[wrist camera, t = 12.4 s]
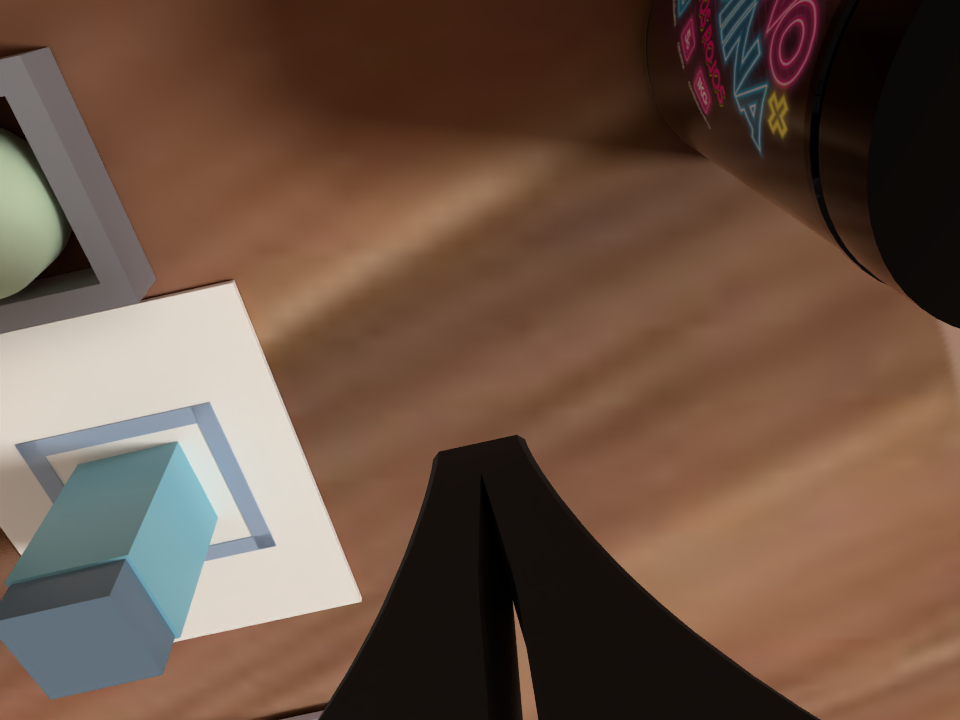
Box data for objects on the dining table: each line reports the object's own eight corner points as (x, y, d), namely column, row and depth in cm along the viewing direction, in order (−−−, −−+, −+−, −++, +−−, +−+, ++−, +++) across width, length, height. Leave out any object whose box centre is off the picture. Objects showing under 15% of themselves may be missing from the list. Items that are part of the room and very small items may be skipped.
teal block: (218, 517, 24) (168, 676, 19) (124, 538, 24) (48, 702, 19) (178, 441, 22) (111, 591, 17) (77, 464, 22) (-20, 621, 17)
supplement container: (895, -186, 16) (1515, -348, 7) (903, 109, 20) (1331, 250, 11) (606, -74, 17) (847, -95, 8) (662, 195, 20) (876, 397, 11)
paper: (361, 597, 27) (361, 602, 26) (97, 654, 27) (95, 660, 27) (233, 279, 20) (232, 283, 20) (-116, 357, 20) (-121, 361, 20)
